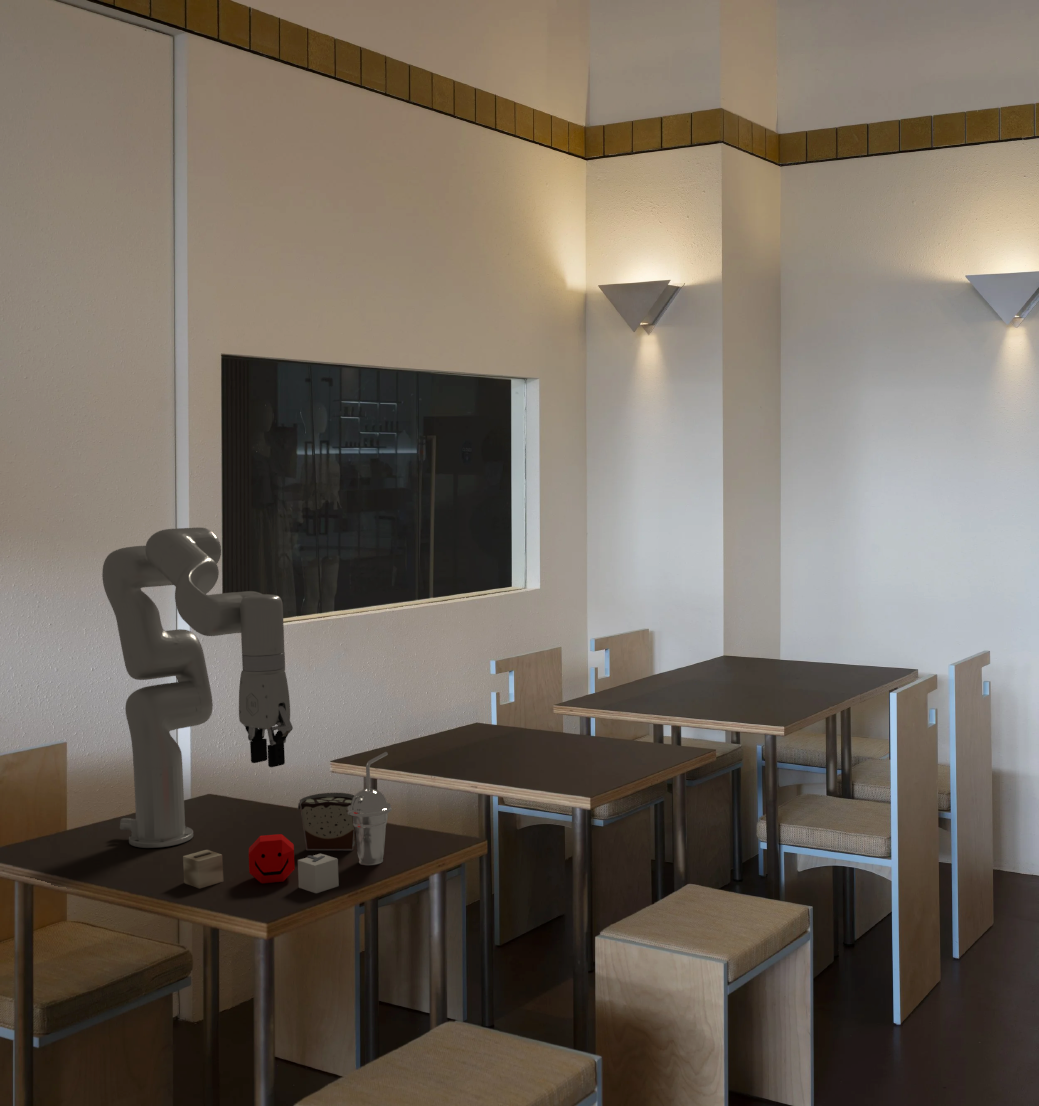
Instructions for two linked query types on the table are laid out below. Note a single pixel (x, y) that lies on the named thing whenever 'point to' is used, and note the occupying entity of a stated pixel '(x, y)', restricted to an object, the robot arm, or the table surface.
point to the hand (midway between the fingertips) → (267, 762)
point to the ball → (271, 858)
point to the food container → (327, 821)
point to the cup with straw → (369, 820)
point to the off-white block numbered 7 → (318, 873)
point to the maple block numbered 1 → (203, 868)
